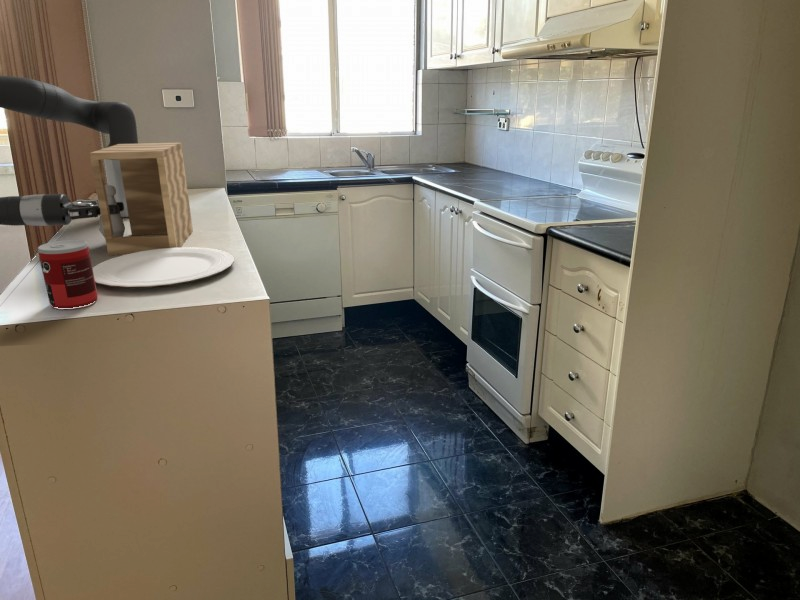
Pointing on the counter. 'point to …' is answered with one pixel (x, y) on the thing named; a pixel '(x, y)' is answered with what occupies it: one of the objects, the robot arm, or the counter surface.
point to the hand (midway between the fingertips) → (121, 207)
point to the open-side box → (147, 196)
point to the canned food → (68, 273)
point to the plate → (161, 267)
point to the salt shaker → (115, 218)
